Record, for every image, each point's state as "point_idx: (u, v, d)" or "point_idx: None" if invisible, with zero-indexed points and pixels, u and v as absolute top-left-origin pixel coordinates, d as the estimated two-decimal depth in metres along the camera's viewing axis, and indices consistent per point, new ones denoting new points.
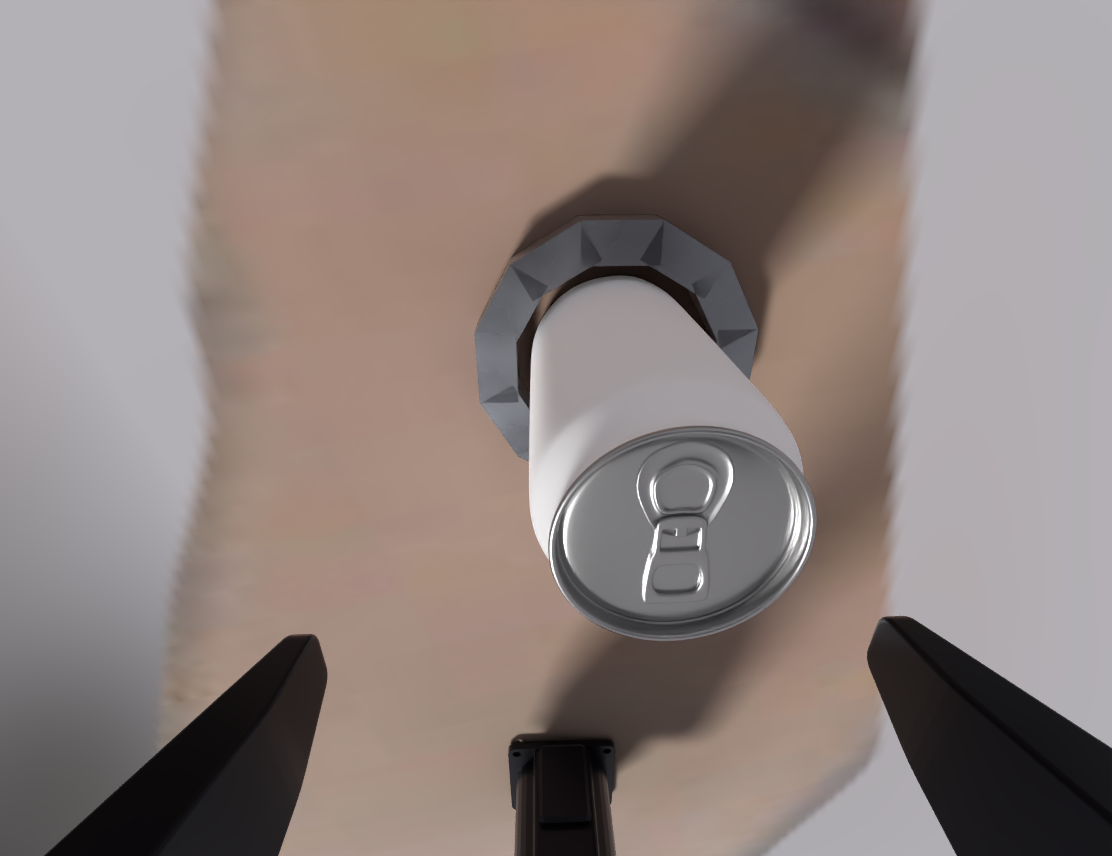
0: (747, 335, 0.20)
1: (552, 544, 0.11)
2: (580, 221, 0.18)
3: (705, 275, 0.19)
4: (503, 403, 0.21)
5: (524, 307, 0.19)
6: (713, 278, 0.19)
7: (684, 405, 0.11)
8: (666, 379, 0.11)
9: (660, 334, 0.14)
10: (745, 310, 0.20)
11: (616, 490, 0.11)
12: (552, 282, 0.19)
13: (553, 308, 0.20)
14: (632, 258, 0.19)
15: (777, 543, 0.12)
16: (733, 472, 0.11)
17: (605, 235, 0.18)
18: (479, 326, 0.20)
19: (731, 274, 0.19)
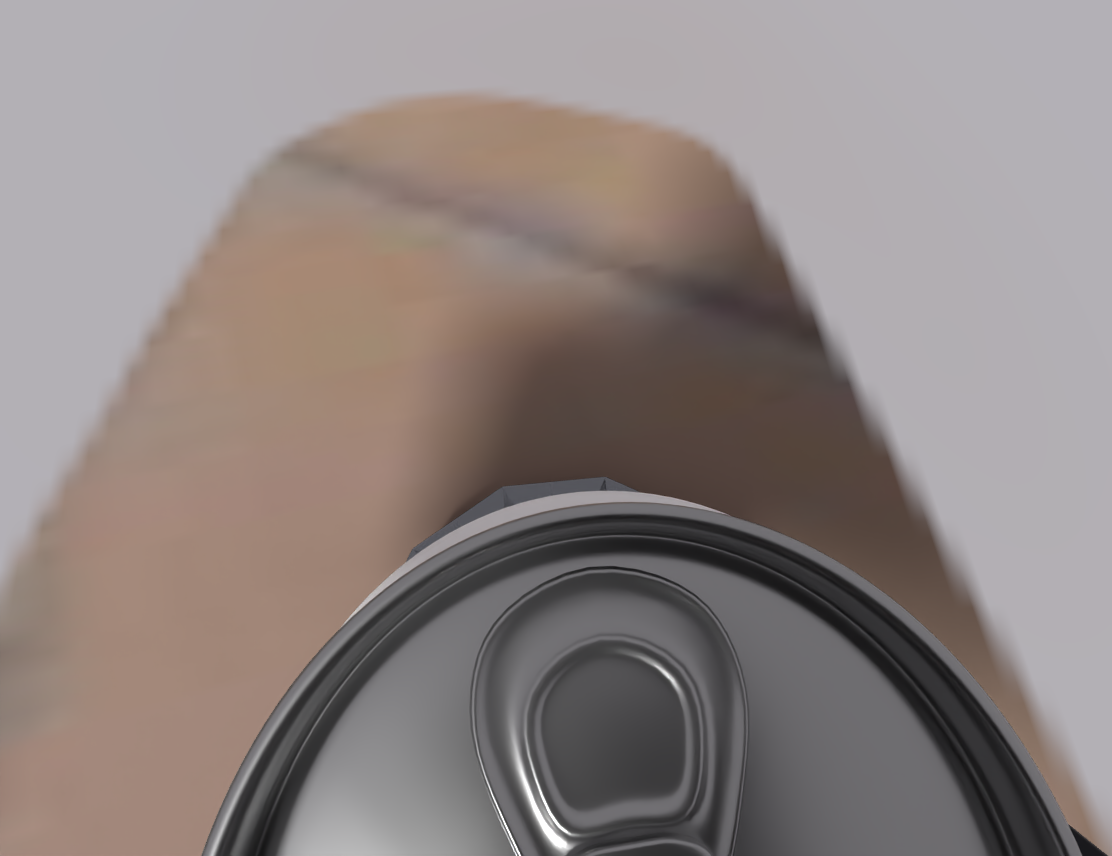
0: None
1: None
2: (501, 488, 0.15)
3: None
4: None
5: None
6: None
7: None
8: (545, 497, 0.06)
9: None
10: None
11: (413, 754, 0.04)
12: None
13: None
14: None
15: None
16: (736, 657, 0.04)
17: None
18: None
19: None
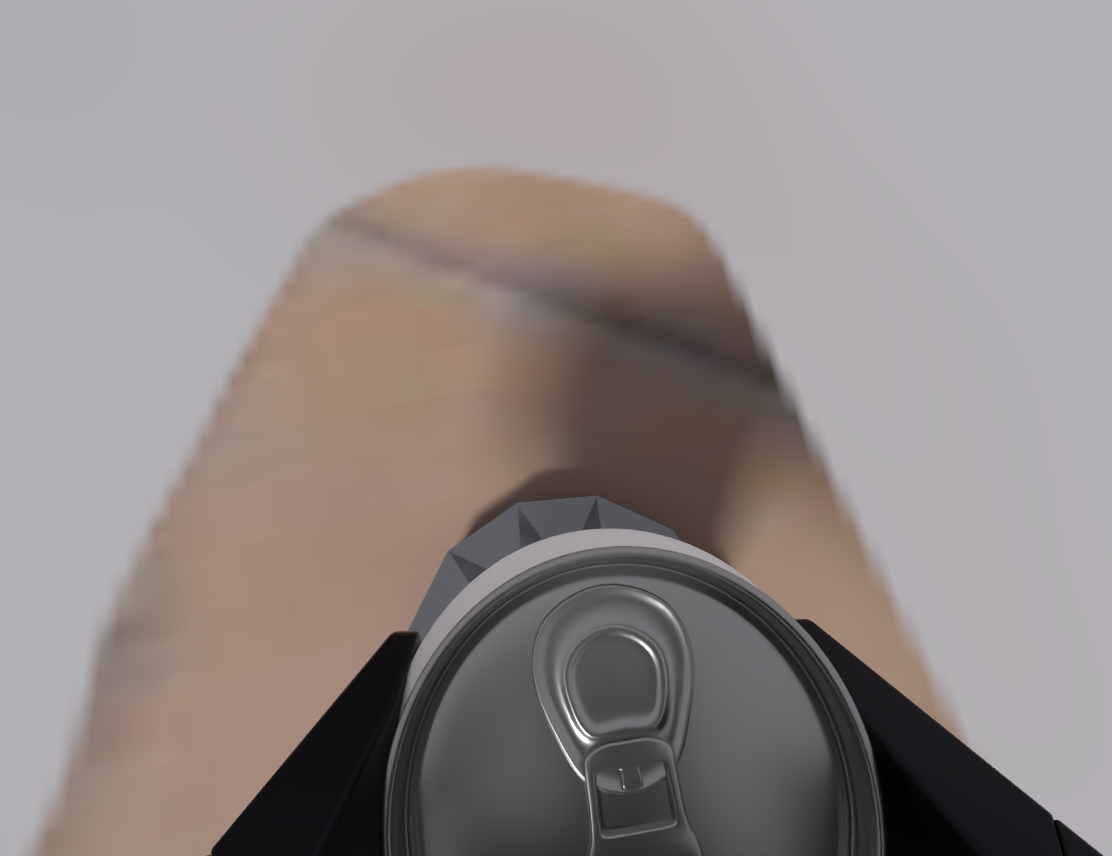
0: None
1: (386, 825, 0.06)
2: (516, 504, 0.19)
3: None
4: None
5: None
6: None
7: (590, 546, 0.08)
8: (568, 533, 0.08)
9: None
10: None
11: (501, 694, 0.07)
12: None
13: None
14: None
15: (820, 793, 0.06)
16: (687, 636, 0.07)
17: (542, 514, 0.19)
18: (413, 622, 0.18)
19: None
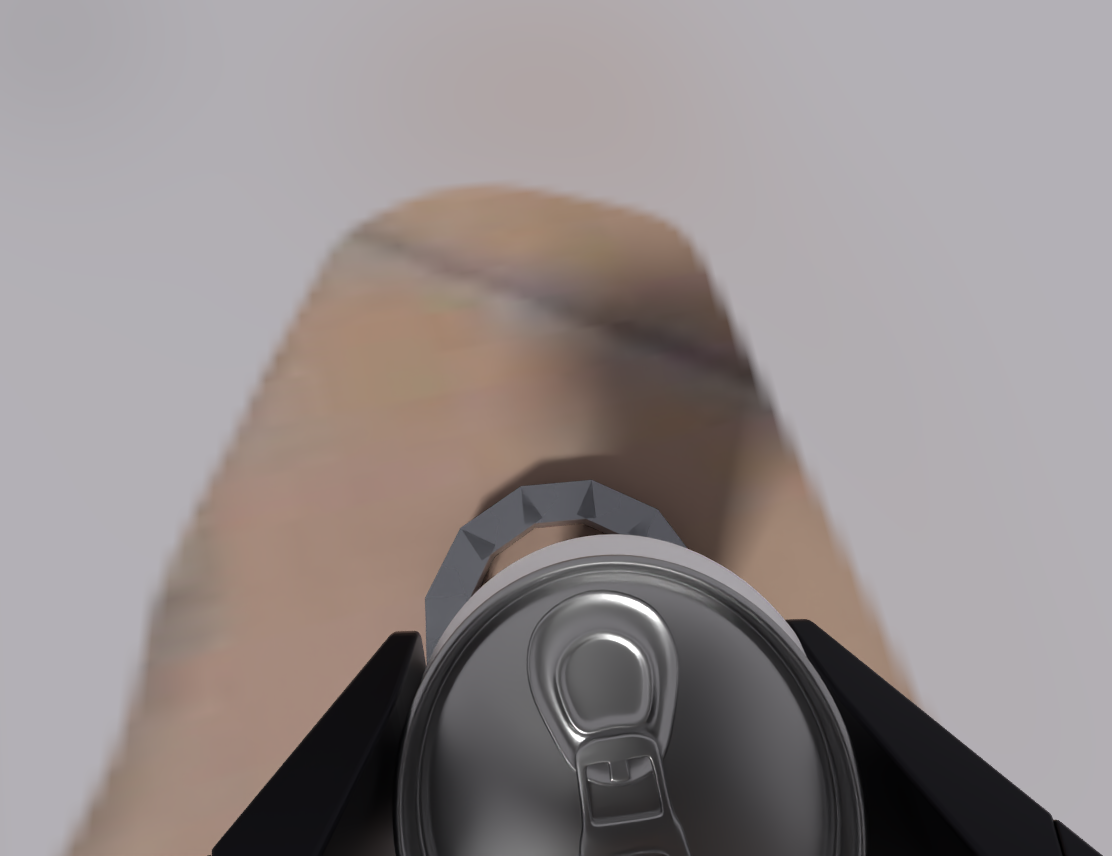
0: None
1: (397, 807, 0.07)
2: (520, 487, 0.21)
3: (638, 523, 0.21)
4: None
5: (474, 567, 0.20)
6: (646, 525, 0.21)
7: (584, 553, 0.08)
8: (568, 540, 0.09)
9: None
10: None
11: (499, 692, 0.07)
12: (499, 540, 0.21)
13: None
14: (569, 513, 0.21)
15: (804, 789, 0.07)
16: (672, 639, 0.07)
17: (543, 496, 0.21)
18: (430, 590, 0.20)
19: (662, 520, 0.21)
